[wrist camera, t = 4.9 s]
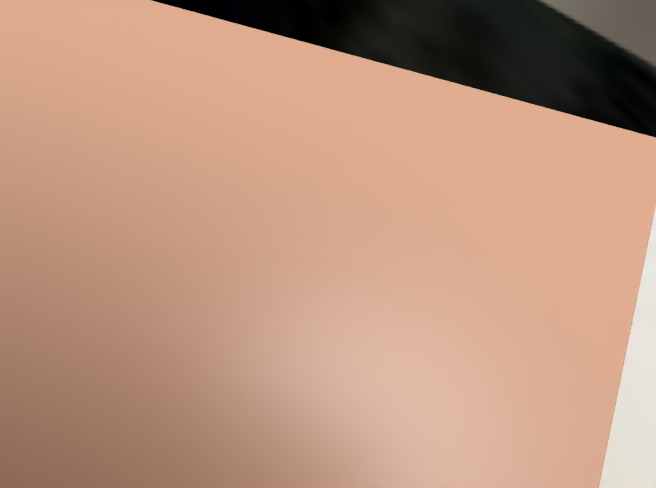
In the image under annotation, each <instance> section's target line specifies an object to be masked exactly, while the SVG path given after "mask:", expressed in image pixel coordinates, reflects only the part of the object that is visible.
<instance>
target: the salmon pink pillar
mask: <svg viewBox="0 0 656 488" xmlns="http://www.w3.org/2000/svg"><path fill="white" fill-rule="evenodd" d="M655 206H656V138H654V137H651V136H647V135H643V134H640V133H636V132H632V131H629V130H625V129H621V128H618V127H614V126H610V125H607V124H603V123H599V122H596V121H592V120H588V119H585V118H581V117H577V116H574V115H570V114H566V113H563V112H559V111H555V110H552V109H548V108H544V107H540V106H537V105H533V104H529V103H526V102H522V101H518V100H515V99H511V98H507V97H504V96H500V95H496V94H493V93H489V92H485V91H482V90H478V89H474V88H471V87H467V86H463V85H460V84H456V83H452V82H449V81H445V80H441V79H438V78H434V77H430V76H427V75H423V74H419V73H415V72H412V71H408V70H404V69H401V68H397V67H393V66H390V65H386V64H382V63H379V62H375V61H371V60H368V59H364V58H360V57H357V56H353V55H349V54H346V53H342V52H338V51H335V50H331V49H327V48H324V47H320V46H316V45H313V44H309V43H305V42H302V41H298V40H294V39H291V38H287V37H283V36H279V35H276V34H272V33H268V32H265V31H261V30H257V29H254V28H250V27H246V26H243V25H239V24H235V23H232V22H228V21H224V20H221V19H217V18H213V17H210V16H206V15H202V14H199V13H195V12H191V11H188V10H184V9H180V8H177V7H173V6H169V5H166V4H162V3H158V2H154V1H151V0H0V488H599V484H600V479H601V474H602V469H603V464H604V459H605V454H606V450H607V445H608V440H609V435H610V430H611V425H612V420H613V415H614V410H615V405H616V400H617V395H618V390H619V385H620V380H621V375H622V370H623V365H624V360H625V355H626V350H627V345H628V340H629V335H630V330H631V325H632V320H633V316H634V311H635V306H636V301H637V296H638V291H639V286H640V281H641V276H642V271H643V266H644V261H645V256H646V251H647V246H648V241H649V236H650V231H651V226H652V221H653V216H654V211H655Z"/></svg>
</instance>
